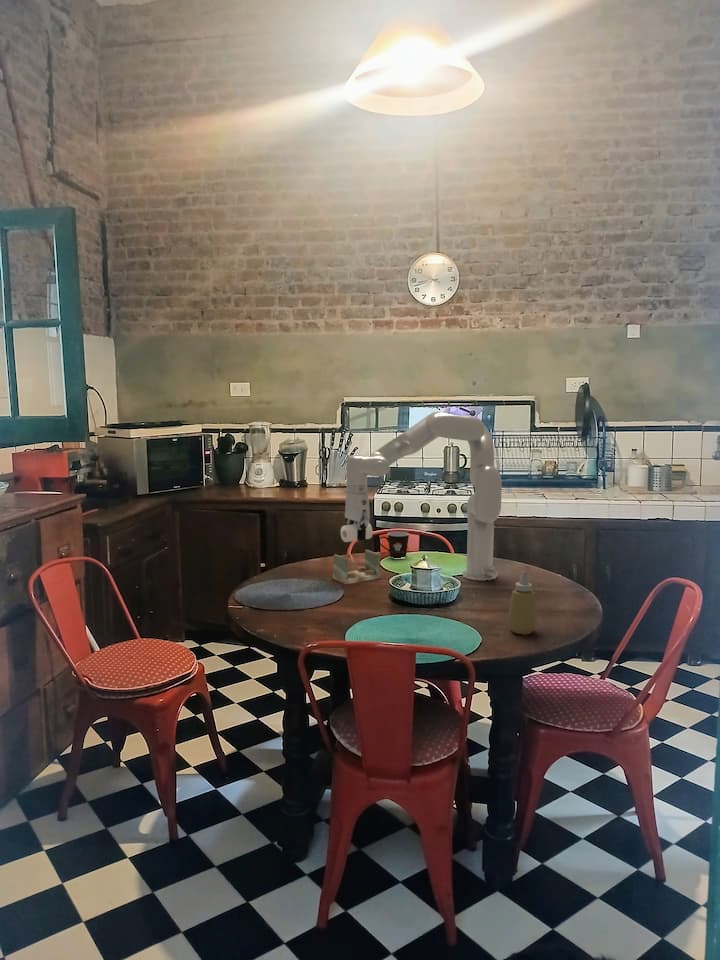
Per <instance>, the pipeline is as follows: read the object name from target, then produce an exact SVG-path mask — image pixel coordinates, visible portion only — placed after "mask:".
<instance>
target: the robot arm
mask: <svg viewBox="0 0 720 960" xmlns="http://www.w3.org/2000/svg"><path fill="white" fill-rule="evenodd" d="M437 438H444V439H449V440H450V439H451V440H456V441H458V440H459V441H466V442H467V443H468V446H469V450H470V451H469V452H470V454H469V456H470V460H469V461H470V465H469V468H470V469H469V480H470V483H471V485H472V486H473V487H474V493H473V494H471V495H470V496H469V498H468V499H467V502H466V516H467V536H466V537H467V538H466V539H467V540H466V541H467V543H466V549H467V550H466V570H464V571H462V575H463V576H462V577H463V578H465V579H468V580H471V581H477V580H478V581H479V582H482V581H483V582H486V580H488V581H493V580H495V579H496V578H497V576H498V575H499V571H497V570H495V566H494V565H493V564H494V562H493V561H494V540H495V539H494V536H495V521H496V520H497V519H498V517H499V516H500V514H501V511H502V510H501V509H502V489H503V487H502V484H503V483H502V476H501V473H500V472H499V470H498V469H497V468H496V467H495V445H494V441H493V437H492V435H491V433H490V431H489V429H488V428H487V427H486V425H485V424H484V422H483V421H482V420H481V419H480V418H479V417H476V416H473V415H468V414H467V415H458V414H457V415H456V414H451V413H446V412H443V411H432V412H431V413H430V414H428V415H426V416H425V417H424V418H421V420H419V421H418V422H416V423H415V424H414V425H412V426H411V427H409V428H408V429H406V430H405V431H404V432H402V433H401V434H399V435H398V436H396V437H395V438H393V439H391V440H390V441H388V442H387V443H385V444H384V445H383V446H380V447H379V448H377V450H375V451H374V452H372V453H371V454H370V455H369V456H365V455H362V454H352V455H348V456H347V458H346V480H345V481H346V483H345V484H346V493H345V494H346V495H345V505H344V506H345V507H344V513H343V516H344V518H345V522H346V525H352V524H358V528H359V530H358V532H357V540H358V542H360V541H366V540H367V539H366V529H367V526H368V524H370V522H371V521H370V518H371V514H370V513H371V510H370V500H369V494H368V476H370V477H378V478H379V477H384V476H385V475H387V474H388V472H389V471H390V466H391V465H393V464H394V463H395V462H397V461H399V460H400V459H402V458H404V457H407V456H411V455H413V454H416V453H418V452H419V451H420V450H422V449H423V448H424V447H426V446H427V445H429V444H430V443H432V442H433V441H435V440H436V439H437ZM356 522H357V523H356ZM361 523H362V525H361ZM492 579H493V580H492Z"/></svg>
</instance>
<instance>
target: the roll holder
mask: <svg viewBox="0 0 720 960" xmlns="http://www.w3.org/2000/svg"><path fill="white" fill-rule="evenodd" d="M332 579H333V580H335V581H336V582H337V581H338V582H340V583H341V584H344V585H349V584H350V585H351V584H356V583H363V582H367V581H371V580H373V581H374V580H378V579H381V573H380V554H379V552H378V553H377V552H375V551H372V550H370V549H364V566H359V567H357V569H356V570H351V571H349V560H348V558H346V557H344V556H341V555H339V554H337V553H335V554H333V574H332Z"/></svg>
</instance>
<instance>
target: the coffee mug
mask: <svg viewBox="0 0 720 960" xmlns="http://www.w3.org/2000/svg"><path fill="white" fill-rule="evenodd" d="M409 535H410V534H409V532H405V531H391V532H387V536H385V535H383V536H380V537H379V538H378V543H379V545H380V546H381V547H382V548H384V549H385V550H387V551H388V552H389V558H390V557H393V558H401V557H405V556H406V557H407V553H408V552H407V551H408V545H409ZM381 539H385V540H387V542H388V548H387V547H386V546H384V545H383V544H382V543H381Z"/></svg>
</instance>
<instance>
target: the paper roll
mask: <svg viewBox="0 0 720 960" xmlns="http://www.w3.org/2000/svg"><path fill="white" fill-rule="evenodd" d="M361 525H362V523H361ZM372 527H373V526H372V525H371V523H369V524H368V526H367V529H366V539H365V540H369V539H370V540H371V538H372V537H373V533H374V531H373V528H372ZM358 530H359V528H358V523H355V524H352V525H347V524H346V525H345V524H344V525H342V526H341V528H340V537H341V540H342V541H343V542H344V543H349V542H355V541H358V540H357V532H358ZM358 542H359V541H358Z"/></svg>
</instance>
